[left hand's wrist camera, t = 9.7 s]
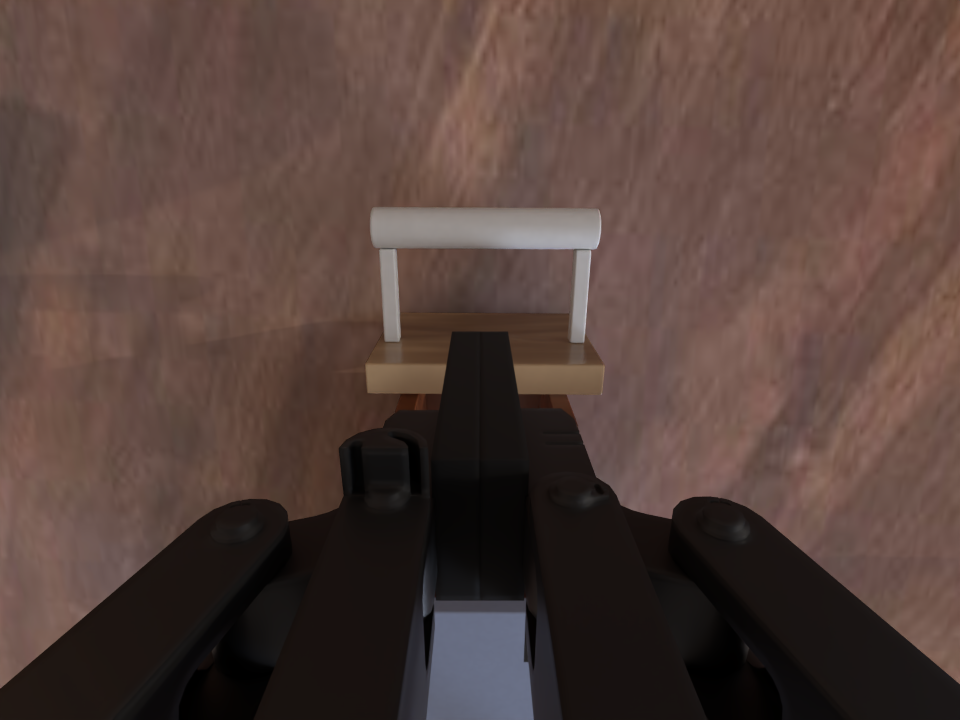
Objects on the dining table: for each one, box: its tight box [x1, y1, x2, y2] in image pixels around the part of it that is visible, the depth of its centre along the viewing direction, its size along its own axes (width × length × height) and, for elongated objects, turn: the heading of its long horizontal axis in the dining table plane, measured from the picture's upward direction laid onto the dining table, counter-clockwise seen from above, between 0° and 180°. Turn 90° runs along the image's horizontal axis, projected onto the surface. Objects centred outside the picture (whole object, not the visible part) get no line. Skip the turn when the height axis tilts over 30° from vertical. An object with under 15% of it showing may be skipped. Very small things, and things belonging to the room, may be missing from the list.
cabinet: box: [426, 598, 534, 720], centre depth 29 cm, size 16×10×9 cm, turn 0°
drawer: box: [365, 207, 605, 598], centre depth 24 cm, size 21×9×7 cm, turn 0°
